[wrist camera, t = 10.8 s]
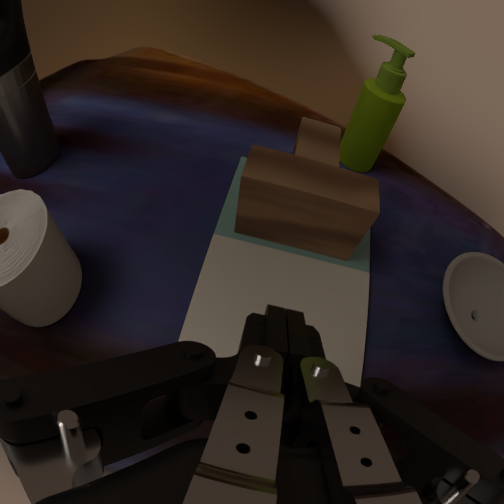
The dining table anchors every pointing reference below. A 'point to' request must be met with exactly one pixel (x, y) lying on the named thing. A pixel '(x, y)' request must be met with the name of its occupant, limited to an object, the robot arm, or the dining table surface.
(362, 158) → the soap dispenser
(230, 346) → the board
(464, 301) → the dish
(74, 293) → the toilet tissue
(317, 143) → the t block
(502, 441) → the dining table surface
